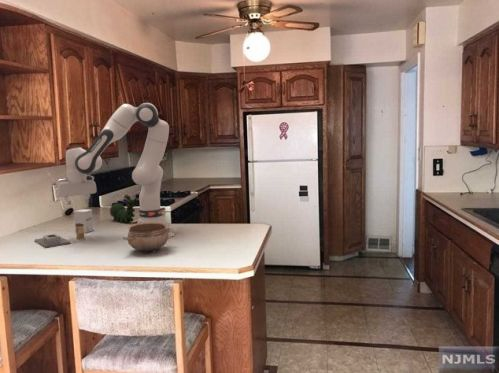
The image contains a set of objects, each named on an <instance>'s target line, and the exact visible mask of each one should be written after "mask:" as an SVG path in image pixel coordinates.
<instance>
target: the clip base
mask: <svg viewBox="0 0 499 373" xmlns="http://www.w3.org/2000/svg"><path fill="white" fill-rule="evenodd" d="M34 242H35V243H36V244H38V245H40V247H41V246H42V247H43V248H44V249H49V248H55V247H61V246H65V245H66V246H67V245H70V244H71V241H69V240H67V239H65V238H63V237H61V235H59V234H57V233H53V234H46V235H42V238H36V239H34Z"/></svg>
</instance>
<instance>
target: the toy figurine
mask: <svg viewBox="0 0 499 373" xmlns="http://www.w3.org/2000/svg"><path fill="white" fill-rule="evenodd" d="M123 198H124V199H125V200H127V202H126V207H125V206H124V205H123V204H122V203H118V202H117V203H114V204H113V205H111V207H110V209H109V214H110V216H111V217H112V218H113V220H114V221H116V222H120V223H121V224H123V223H127V222H128V223H129V222H133V221H134V217H135V216H136V215H135V214H134V212H135V211H136V209H134V207H135V204H134V203H135V201H134V200H133V199H132V198H131V196H130V195H128V194H125V195H124V197H123Z"/></svg>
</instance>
